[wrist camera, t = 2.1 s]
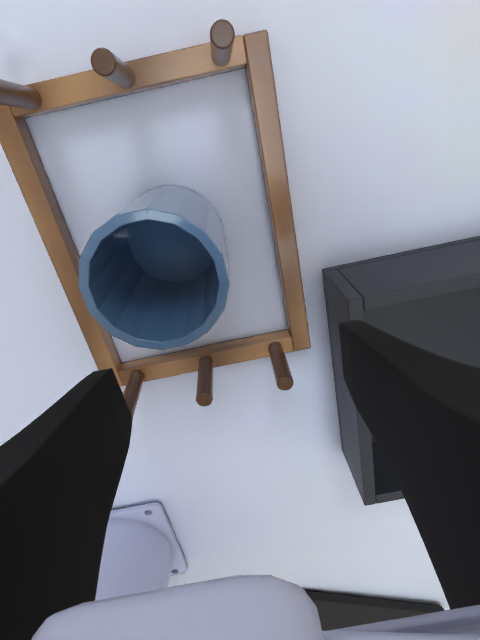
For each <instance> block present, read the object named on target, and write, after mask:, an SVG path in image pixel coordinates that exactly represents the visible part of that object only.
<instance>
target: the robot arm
mask: <svg viewBox="0 0 480 640" xmlns="http://www.w3.org/2000/svg"><path fill="white" fill-rule="evenodd" d="M339 334H340V345H341V356H342V367H343V378H344V380H345V383H346V385H347V388H348V390H349V393H350V395H351V398H352V400H353V402H354V405H355V406H356V408H357V410H358V412H359V413H360V415H361V417H362V419H363V420H364V422H365V424H366V426H367V427H368V429H369V431H370V433H371V434H372V436H373V438H374V439H375V441H376V443H377V445H378V446H379V448H380V450H381V451H382V453H383V455H384V457H385V458H386V460H387V462H388V464H389V466H390V468H391V470H392V471H393V473H394V475H395V478H396V480H397V482H398V484H399V486H400V489H401V491H402V493H403V495H404V498H405V500H406V502H407V504H408V507H409V509H410V511H411V514H412V516H413V518H414V521H415V523H416V525H417V528H418V530H419V532H420V535H421V537H422V539H423V542H424V544H425V547H426V549H427V552H428V554H429V557H430V559H431V562H432V564H433V566H434V569H435V571H436V574H437V576H438V579H439V581H440V584H441V586H442V589H443V591H444V594H445V597H446V599H447V602H448V604H449V607H450V610H446V611H440V612H434V613H428V614H423V615H417V616H411V617H405V618H399V619H393V620H388V621H382V622H376V623H370V624H364V625H359V626H353V627H347V628H341V629H335V630H329V631H322V629H321V624H320V619H319V615H318V610H317V607H316V605H315V604H314V603H313V601H312V600H311V598H310V597H309V596H308V594H307V593H306V592H305V590H304V589H303V588H301V587H300V586H298V585H296V584H294V583H291V582H288V581H285V580H283V579H280V578H277V577H274V576H272V575H237V576H231V577H225V578H220V579H214V580H208V581H203V582H197V583H192V584H186V585H180V586H175V587H169V588H168V581H169V576H173V575H178V574H183V573H185V572H186V571H187V563H186V561H185V558H184V556H183V553H182V551H181V549H180V546H179V544H178V542H177V539H176V537H175V535H174V532H173V530H172V527H171V525H170V523H169V520H168V518H167V516H166V513H165V511H164V509H163V506H162V505H161V504H160V503H157V502H154V503H149V504H144V505H138V506H133V507H128V508H123V509H117V510H112V511H111V509H112V505H113V502H114V498H115V495H116V491H117V488H118V484H119V481H120V478H121V474H122V471H123V467H124V463H125V460H126V456H127V452H128V449H129V443H130V437H131V428H132V419H133V418H132V416H131V413H130V411H129V408H128V406H127V403H126V401H125V398H124V396H123V393H122V391H121V388H120V386H119V383H118V381H117V379H116V376H115V374H114V371H113V369H112V368H110V369H105V370H99V371H94V372H92V373H91V374H89V375H88V376H87V377H85V378H84V379H83V380H81V381H80V382H79V383H78V384H77V385H75V386H74V387H73V388H72V389H71V390H70V391H68V392H67V393H66V394H65V395H64V396H63V397H61V398H60V399H59V400H58V401H57V402H56V403H54V404H53V405H52V406H51V407H50V408H49V409H47V410H46V411H45V412H44V413H43V414H41V415H40V416H39V417H38V418H36V419H35V420H34V421H33V422H31V423H30V424H29V425H28V426H26V427H25V428H24V429H23V430H21V431H20V432H19V433H18V434H16V435H15V436H14V437H12V438H11V439H10V440H8V441H7V442H5V443H4V444H3V445H1V446H0V640H480V368H478V367H474V366H471V365H467V364H464V363H461V362H458V361H454V360H451V359H448V358H445V357H442V356H439V355H437V354H434V353H432V352H429V351H427V350H424V349H422V348H419V347H417V346H414V345H412V344H410V343H408V342H405V341H403V340H401V339H399V338H397V337H395V336H392V335H390V334H388V333H386V332H384V331H382V330H380V329H378V328H376V327H374V326H372V325H370V324H368V323H366V322H364V321H361V320H359V319H357V320H352V321H347V322H342V323H339ZM148 510H149V511H148Z"/></svg>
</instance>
